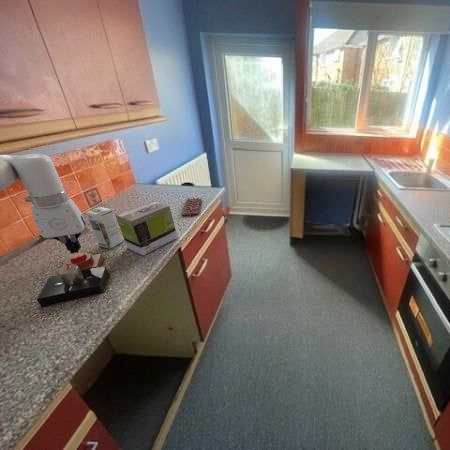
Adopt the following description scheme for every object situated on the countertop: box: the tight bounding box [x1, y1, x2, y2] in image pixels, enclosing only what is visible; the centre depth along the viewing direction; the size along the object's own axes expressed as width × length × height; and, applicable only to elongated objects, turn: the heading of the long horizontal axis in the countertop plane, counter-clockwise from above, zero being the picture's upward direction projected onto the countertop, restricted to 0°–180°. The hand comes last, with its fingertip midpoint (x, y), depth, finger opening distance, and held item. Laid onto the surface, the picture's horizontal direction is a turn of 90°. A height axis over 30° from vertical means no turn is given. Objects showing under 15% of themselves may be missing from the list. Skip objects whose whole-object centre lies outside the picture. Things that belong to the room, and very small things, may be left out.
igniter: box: [57, 252, 104, 275], centre depth 83 cm, size 10×8×4 cm
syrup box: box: [86, 206, 124, 250], centre depth 94 cm, size 6×6×14 cm
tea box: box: [115, 200, 178, 256], centre depth 95 cm, size 15×10×15 cm, turn 152°
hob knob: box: [57, 264, 83, 286], centre depth 73 cm, size 4×4×5 cm
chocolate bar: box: [181, 197, 202, 217], centre depth 128 cm, size 7×19×2 cm, turn 15°
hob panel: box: [36, 265, 109, 308], centre depth 75 cm, size 14×10×3 cm
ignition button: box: [69, 251, 86, 263], centre depth 82 cm, size 4×4×2 cm
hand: (75, 250), depth 80 cm, fingers closed
